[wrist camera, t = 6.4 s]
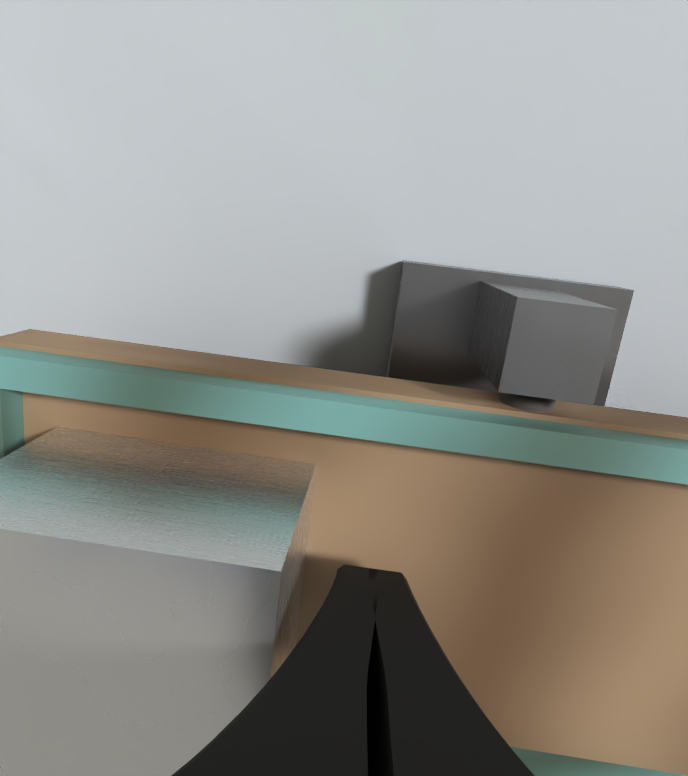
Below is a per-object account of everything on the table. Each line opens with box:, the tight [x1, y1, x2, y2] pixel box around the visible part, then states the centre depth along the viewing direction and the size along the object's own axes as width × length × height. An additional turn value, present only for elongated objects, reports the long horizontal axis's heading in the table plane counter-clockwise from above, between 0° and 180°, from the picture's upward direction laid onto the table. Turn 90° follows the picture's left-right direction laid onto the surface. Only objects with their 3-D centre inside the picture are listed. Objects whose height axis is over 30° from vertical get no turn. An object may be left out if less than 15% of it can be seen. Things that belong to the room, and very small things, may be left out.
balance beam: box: [0, 329, 688, 776], centre depth 11 cm, size 22×8×2 cm, turn 83°
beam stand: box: [386, 260, 634, 406], centre depth 13 cm, size 5×12×4 cm, turn 173°
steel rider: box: [0, 427, 316, 776], centre depth 10 cm, size 5×5×4 cm
